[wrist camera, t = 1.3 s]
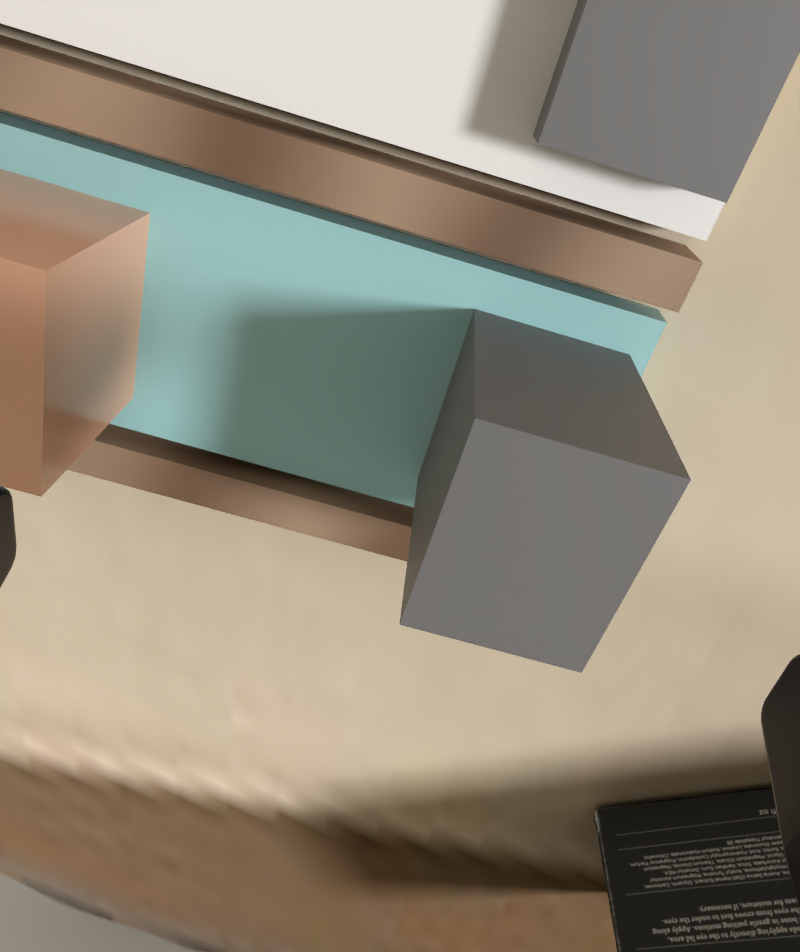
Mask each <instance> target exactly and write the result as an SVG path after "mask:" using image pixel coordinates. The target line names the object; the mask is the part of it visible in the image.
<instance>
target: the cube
mask: <svg viewBox="0 0 800 952" xmlns="http://www.w3.org/2000/svg"><path fill="white" fill-rule="evenodd" d="M149 220H150V213H149V212H146V211H142V210H139V209H136V208H132V207H129V206H126V205H122V204H119V203H115V202H112V201H109V200H105V199H102V198H98V197H95V196H92V195H88V194H85V193H82V192H78V191H75V190H71V189H68V188H65V187H61V186H58V185H55V184H51V183H48V182H44V181H41V180H38V179H34V178H31V177H27V176H24V175H21V174H17V173H14V172H11V171H7V170H4V169H0V486H4V487H8V488H11V489H15V490H19V491H23V492H26V493H30V494H34V495H37V496H41V497H42V495H43V494H44V493H45V492H46V491H47V490H48V489H49V488H50V487H51V486H52V485H53V484H54V483H55V481H56V480H57V479H58V478H59V477H60V476H61V475H62V474H63V473H64V472H65V471H66V470H67V469H68V467H69V466H70V465H71V464H72V463H73V462H74V461H75V460H76V459H77V458H78V457H79V456H80V455H81V454H82V452H83V451H84V450H85V449H86V448H87V447H88V446H89V445H90V444H91V443H92V442H93V441H94V440H95V438H96V437H97V436H98V435H99V434H100V433H101V432H102V431H103V430H104V429H105V428H106V427H107V426H108V424H109V423H110V422H111V421H112V420H113V419H114V418H115V417H116V416H117V415H118V414H119V413H120V412H121V410H122V409H123V408H124V407H125V406H126V405H127V404H128V403H129V402H130V401H131V400H132V399H133V394H134V384H135V373H136V362H137V351H138V340H139V329H140V318H141V307H142V296H143V285H144V274H145V263H146V252H147V241H148V230H149Z"/></svg>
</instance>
